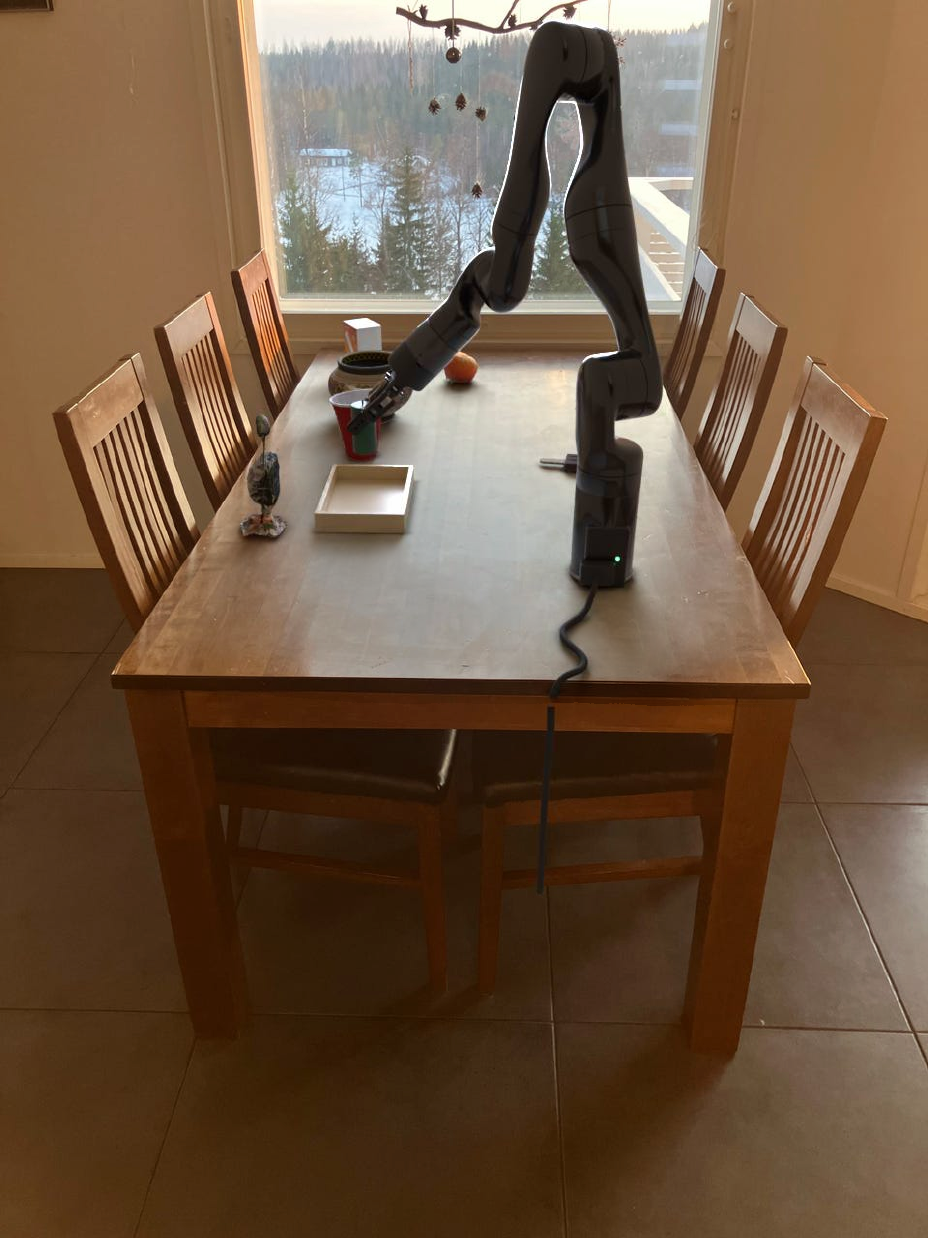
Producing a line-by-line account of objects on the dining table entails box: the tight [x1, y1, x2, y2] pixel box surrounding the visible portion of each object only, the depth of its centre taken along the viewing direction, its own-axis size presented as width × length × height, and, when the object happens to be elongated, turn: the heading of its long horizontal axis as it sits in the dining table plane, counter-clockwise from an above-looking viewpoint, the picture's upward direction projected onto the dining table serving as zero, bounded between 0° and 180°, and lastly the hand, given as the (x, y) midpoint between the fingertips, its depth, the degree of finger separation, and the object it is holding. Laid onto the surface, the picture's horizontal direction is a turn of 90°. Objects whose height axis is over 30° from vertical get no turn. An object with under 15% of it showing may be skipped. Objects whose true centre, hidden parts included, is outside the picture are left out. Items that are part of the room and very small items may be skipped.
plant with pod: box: [239, 413, 288, 538], centre depth 157 cm, size 8×11×20 cm
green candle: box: [351, 400, 378, 455], centre depth 163 cm, size 4×4×9 cm
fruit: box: [443, 350, 479, 386], centre depth 231 cm, size 8×8×8 cm
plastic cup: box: [328, 389, 382, 461], centre depth 188 cm, size 11×11×12 cm
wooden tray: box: [314, 463, 415, 534], centre depth 169 cm, size 22×15×3 cm
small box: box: [343, 317, 383, 354], centre depth 231 cm, size 8×6×13 cm
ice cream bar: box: [539, 453, 578, 473], centre depth 185 cm, size 5×2×15 cm
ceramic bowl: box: [327, 349, 414, 425], centre depth 206 cm, size 24×18×15 cm
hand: (352, 426), depth 163 cm, fingers closed on green candle, 4 cm apart
